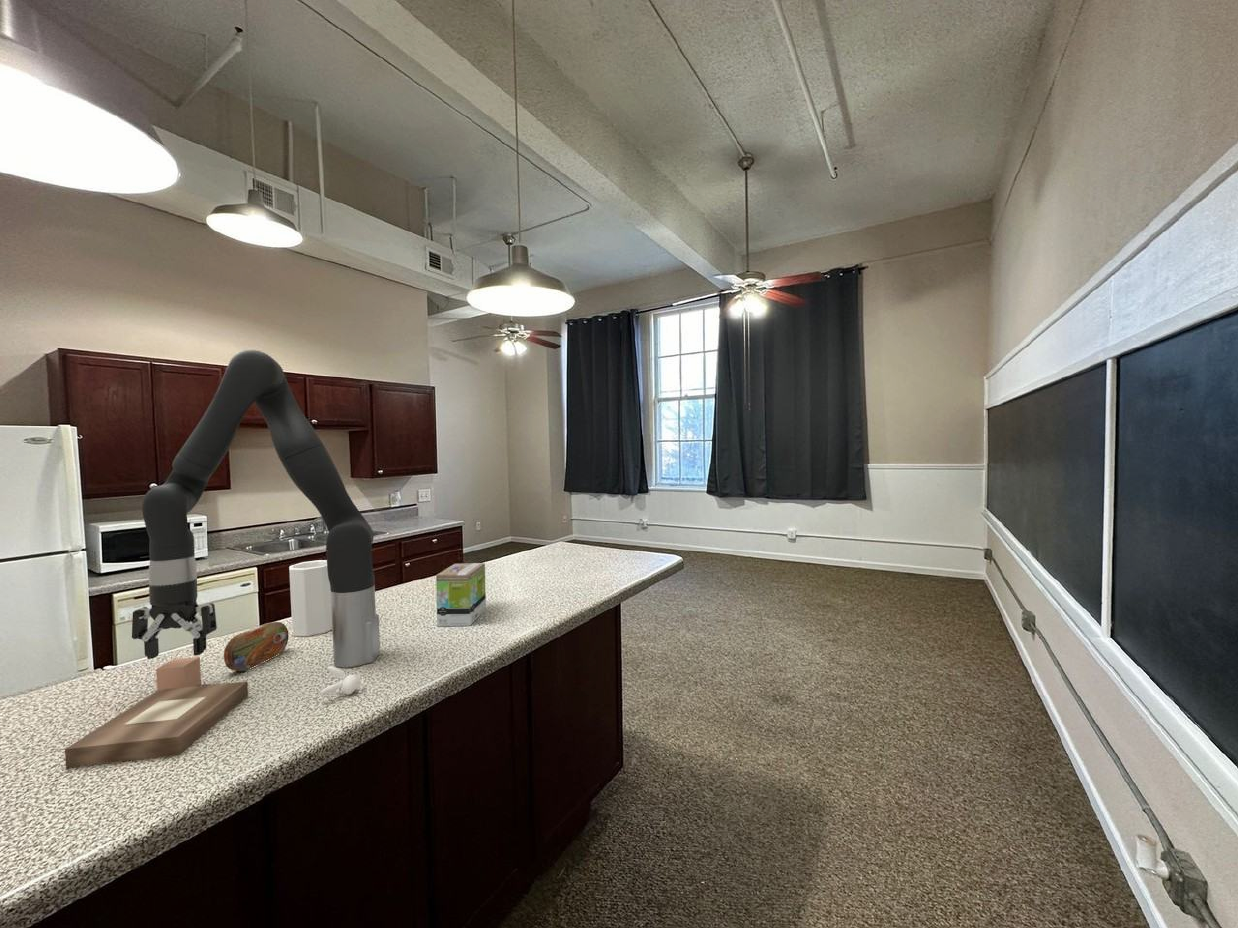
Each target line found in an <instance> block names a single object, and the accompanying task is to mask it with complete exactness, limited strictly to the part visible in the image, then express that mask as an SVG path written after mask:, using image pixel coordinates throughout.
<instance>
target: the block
mask: <svg viewBox="0 0 1238 928" xmlns="http://www.w3.org/2000/svg"><path fill="white" fill-rule="evenodd" d="M201 670H202V669H201V657H200V656H195V657H194V656H193V657H182V658H172V660H169V661H168V662H166V663H164V664H163V665H161V666H159V667H157V668H156V669H155V672H156V691H157V690H162V689H173V688H183V687H193V686H198V685H199V686H201V685H202V679H201V678H202V676H201V672H202V671H201Z"/></svg>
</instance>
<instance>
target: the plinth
mask: <svg viewBox="0 0 1238 928" xmlns="http://www.w3.org/2000/svg"><path fill="white" fill-rule="evenodd" d="M248 689H249V687H248V680H247V681H237V682H228V683H227V682H226V683H217V684H206V685H199V686H193V687H183V688H173V689H162V690H157V689H156V691H154V692H153V693H150V694H149V695H147V696H146V697H144V698H143V699H141V700H140V701H138V702H137V703H135V704H134V705H132V706H130V707H129V708H127V709H125V710H124V711H123V712H121V713H119V714H118V715H116V716H115V717H113V718H111V719H110V720H109V721H107V722H105V723H104V724H102V725H101V726H99V727H97V728H96V729H94V730H93V731H91V732H89V733H88V734H87V735H85V736H83V737H82V738H80V739H79V740H76V742H74V743H72V744H71V745H69V746H68V747H66V748H64V756H65V757H64V758H65V768H73V767H74V768H76V767H85V766H93V765H101V764H108V763H109V764H111V763H118V762H119V763H120V762H125V761H136V760H143V759H145V760H146V759H153V758H160V757H170V756H171V757H172V756H179V755H181V754H182V753H183V752H184V751H186V750H187V749H188V748H189V747H190V746H191V745H193V744H194V743H195V742H196V741H197V740H198V739H199V738H200V737H202V736H203V735H204V734H206V733H207V732H208V731H209V730H210V729H211V728H212V727H214V726H215V725H216V724H217V723H219V722H220V720H221V719H223V718H224V717H225V716H227V715H228V714H229V713H230V712H231V711H232V710H233V709H235V708H236V707H237V706H238V705H239V704H241V703H242V702H243V701H244V700H245V699H246V698H248V696H249V690H248Z"/></svg>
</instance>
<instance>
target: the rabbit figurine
mask: <svg viewBox="0 0 1238 928" xmlns="http://www.w3.org/2000/svg"><path fill="white" fill-rule="evenodd" d="M326 668H327V672H328V673H329V674H330V675H331V676H333V677H334V678H336V679H343V680H341V681H338V682H336V683H334V684H332V685H329V686H326V687H325V688H323V689H322V690H320V692H319V694H320V695H321V696H326V695H330V694H333V693H334V692H336V691H337V690H339V689H340V688H341V690H342V693H344V694H345V695H347V696H348V695H351V694H352V693H353V692H354V691H355V690H356V691H358V692H357V693H358V694H362V693H363V691H362V690H364V688H365V687H364V684H365V679H364V678H360V677H359V676H358V675H356V674H348V675H347V674H346V672H345V671H344V670H342V669H340V668H339V667H337V666H332V665H331V666H330V665H328V666H327V667H326ZM340 694H341V693H340V692H338V695H337V698H339V697H340Z"/></svg>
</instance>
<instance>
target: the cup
mask: <svg viewBox="0 0 1238 928" xmlns="http://www.w3.org/2000/svg"><path fill="white" fill-rule="evenodd" d="M288 568H289V569H288V570H289V586H290V587H289V589H290V592H289V593H290V605H291V606H290V609H291V627H292V630H291V631H293V632H292V636H293V637H305V636H308V637H312V635H313V636H317V634H318V635H321V634H322V633H323V634H326V633H329V632H330V631H332V613H331V590H330V582H329V579H328V571H327V559H324V560H323V559H319V560H311V561H302V562H299V563H296V564H292V565H290V566H289V567H288Z"/></svg>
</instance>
